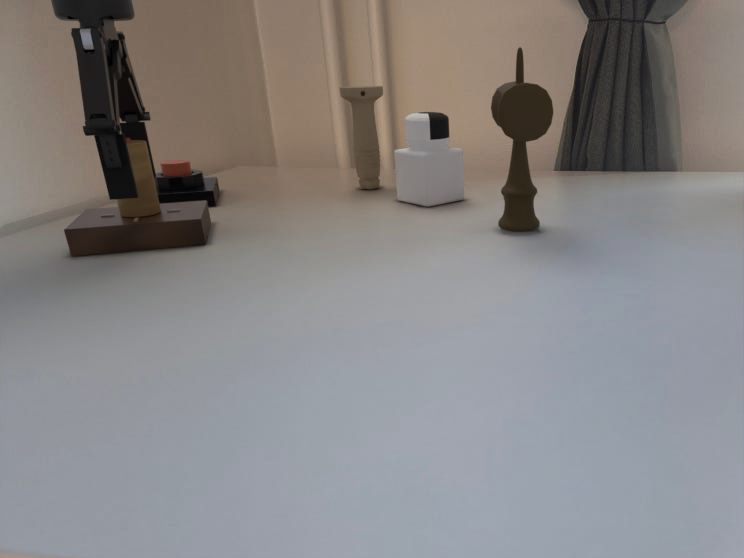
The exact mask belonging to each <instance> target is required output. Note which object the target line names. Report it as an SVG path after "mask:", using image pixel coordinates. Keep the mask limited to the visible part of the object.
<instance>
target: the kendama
mask: <svg viewBox="0 0 744 558" xmlns="http://www.w3.org/2000/svg"><path fill="white" fill-rule="evenodd" d="M515 60H516V61H515V81H509V82H505V83H503V84H501V85H500V86H499V87H497V88H496V90H495V91H494V93H493V95H492V97H491V103H490V111H491V116H492V117H491V118H492V119H493V120H494V121H493V122H495V124H496V126H498V127H499V128H500V129H501V131H502V132H503V134H504V135H505V136H506V137H508V138H510V139H511V140H512V145H511V155H510V161H509V169H508V175H507V178H506V182H505V184H504V185H503V186H502V187H501V190H500V193H501V195H502V197H503V201H504V206H503V207H504V208H503V213H502V215H501V217H500V218H499V220H498V221H497V226H498V228H499V229H501V230H503V231H506V232H510V233H527V232H531V231H534V230H536V229H538V228H539V227H540V226H541V225H540V224H541V223H540V220H539V218H538V217H537V216H536V213H535V204H534V203H535V202H534V201H535V197H536V195H537V194H538V189H537V187H536V186H535V185H534V183H533V180H532V177H531V171H530V165H529V158H528V157H529V156H528V149H527V143H528V142H532V141H537V140H539V139H540V138H542V137H543V136H545V135H546V134H547V132H548V131H549V129H550V128H551V126H552V123H553V117H554V106H553V100H552V98H551V96H550V94H549V92H548V90H547V89H546V88H543V87H542V86H541V85H539V84H537V83H531V82H525V65H524V63H525V62H524V51H523V48H522V47H521V46H519V47H518V48H517V51H516V58H515Z"/></svg>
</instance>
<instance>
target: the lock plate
mask: <svg viewBox="0 0 744 558" xmlns="http://www.w3.org/2000/svg"><path fill="white" fill-rule="evenodd" d="M160 208H161V212H160V213H158V214H155V215H150V216H144V217H122V216H121V215H120V211H119V207H118V206H109V207H96V208H95V207H94V208H86V209H84V210H83V211H82V212H81V213H80V214H79V215H78V216H77V217H76V218H75V219H74V220H72V222H70V223H69V224H68V225H67V226H66V227H65V228H64V229H63V232H64V235H65V239H66V243H67V246H68V249H69V253H70V256H71V257H78V256H79V257H80V256H90V255H102V254H114V253H125V252H136V251H146V250H148V251H149V250H157V249H158V250H159V249H168V248H180V247H192V246H202V245H207V242H208V237H209V233H210V229H211V225H212V219H211V215H210V210H209V206H208V203H207V200H204V201H190V202H176V203H163V204H160Z"/></svg>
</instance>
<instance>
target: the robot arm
mask: <svg viewBox="0 0 744 558" xmlns="http://www.w3.org/2000/svg"><path fill="white" fill-rule="evenodd" d="M50 2H51V6H52V9H53V10H52V11H53V14H54V16H55V17H56V18H57V19H58V20H60V21H63V22H64V21H65V22H67V21H68V22H78V23H79V27H72V28H71V30H70V31H71V32H70V35H71V38H72V40H73V45H74V48H75V49H74V50H75V56H76V62H77V70H78V77H79V84H80V85H79V86H80V93H81V100H82V106H83V115H84V125H82V131H83V133H84V135H85V137H91V136H94V140H95V141H94V142H95V145H96V149H97V152H98V157H99V161H100V166H101V169H102V173H103V178H104V181H105V185H106V188H107V193H108V197H109V200H110V201H112V200H117V199H128V198H138V197H139V196H138V192H137V187H136V183H135V179H134V174H133V170H132V165H131V161H130V157H129V152H128V148H127V143H126V139H125V138H130V140H143V141H146V143H147V148H148V152H149V157H150V161H151V166H152V171H153V175H154V177H156V173H157V172H156V169H155V164H154V159H153V154H152V150H151V146H150V140H149V136H148V131H147V127H146V123H145V121H146V122H149V121H151V114H150V111H146V107H145V105H144V102H143V99H142V96H141V92H140V89H139V86H138V82H137V79H136V75H135V72H134V69H133V65H132V62H131V58H130V55H129V52H128V47H127V43H126V36H125V34H124V32H123V30H117V28H116V27H115V22H126V21H132V20H134V18H135V9H134V5H133V0H50Z"/></svg>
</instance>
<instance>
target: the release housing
mask: <svg viewBox="0 0 744 558" xmlns="http://www.w3.org/2000/svg"><path fill="white" fill-rule="evenodd" d="M191 171H192V174H188V175H181V176H163V174H162V171H160V172H155V173H156V177H154V180H155V184H156V189H157V194H158V198H159V203H160V204H163V203H176V202H190V201H204V200H207V203H208V207H216V206H217V202H218V198H219V194H220V191H221V190H220V185H219V180H218V179H219V178H218V177H217V176H211V177H204V172H203V170H199V169H191Z"/></svg>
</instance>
